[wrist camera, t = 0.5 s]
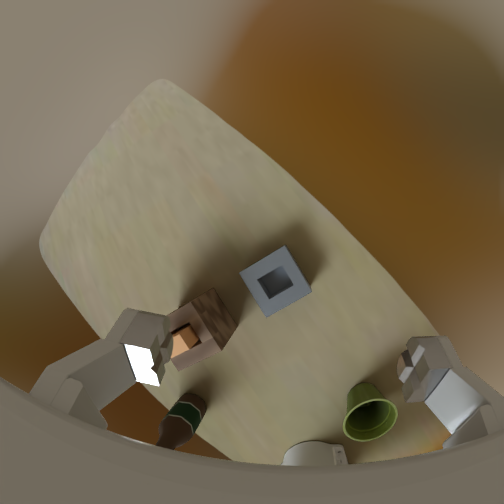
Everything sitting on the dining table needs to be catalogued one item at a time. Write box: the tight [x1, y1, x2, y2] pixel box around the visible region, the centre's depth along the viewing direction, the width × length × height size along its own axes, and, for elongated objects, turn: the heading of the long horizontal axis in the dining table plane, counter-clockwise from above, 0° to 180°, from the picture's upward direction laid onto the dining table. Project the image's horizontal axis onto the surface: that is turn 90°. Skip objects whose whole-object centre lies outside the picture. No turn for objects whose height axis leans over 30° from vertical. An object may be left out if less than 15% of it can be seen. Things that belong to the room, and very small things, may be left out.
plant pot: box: [343, 383, 398, 442], centre depth 53 cm, size 12×12×11 cm
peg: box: [171, 324, 200, 358], centre depth 49 cm, size 3×4×8 cm
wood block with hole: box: [167, 288, 237, 371], centre depth 56 cm, size 10×10×14 cm
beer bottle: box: [155, 394, 206, 450], centre depth 53 cm, size 8×8×24 cm
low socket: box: [239, 245, 312, 317], centre depth 57 cm, size 10×10×6 cm
